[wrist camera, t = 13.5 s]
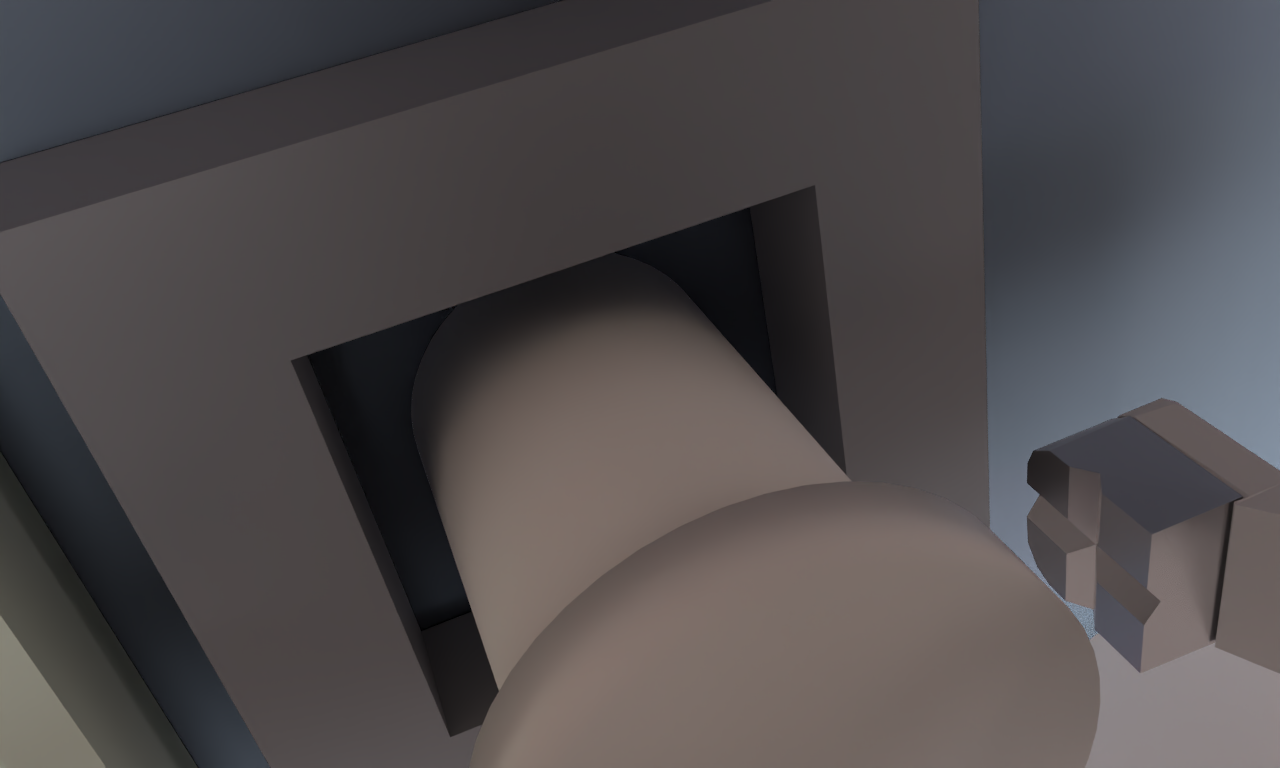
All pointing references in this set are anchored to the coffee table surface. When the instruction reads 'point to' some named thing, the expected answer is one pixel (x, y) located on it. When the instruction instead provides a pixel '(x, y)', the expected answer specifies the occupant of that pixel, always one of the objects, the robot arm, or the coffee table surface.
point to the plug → (715, 559)
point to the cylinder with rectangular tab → (1186, 712)
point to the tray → (66, 662)
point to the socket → (477, 266)
